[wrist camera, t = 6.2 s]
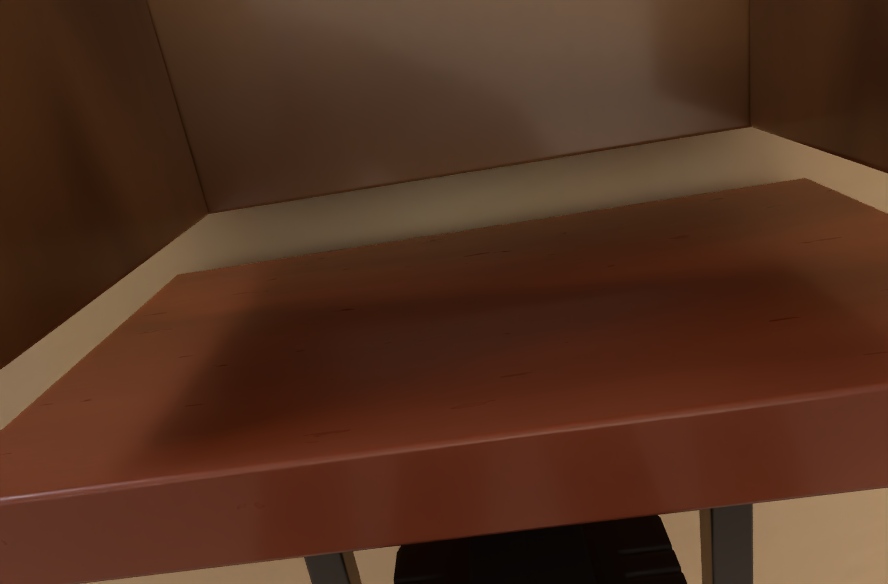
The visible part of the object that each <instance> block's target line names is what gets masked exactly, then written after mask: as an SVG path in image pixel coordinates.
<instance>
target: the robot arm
mask: <svg viewBox="0 0 888 584" xmlns="http://www.w3.org/2000/svg"><path fill="white" fill-rule="evenodd" d="M394 584H687V582H686V579H685V577H684V574H683V573H682V572H681V567H680V564H679V562H678V560H677V557H676V555H675V552H674V550H672V545H671V542H670V540H669V537H668V535H667V533H666V530H665V528H664V525H663V523H662V520H661V518H660V517H659V516H658V515H652V516H644V517H635V518H627V519H618V520H610V521H602V522H593V523H585V524H576V525H568V526H560V527H551V528H543V529H534V530H526V531H518V532H509V533H501V534H492V535H484V536H475V537H467V538H459V539H450V540H442V541H433V542H425V543H417V544H408V545H401V547H400V548H399V550H398V552H397V556H396V565H395V573H394Z"/></svg>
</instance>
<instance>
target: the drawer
mask: <svg viewBox="0 0 888 584" xmlns="http://www.w3.org/2000/svg"><path fill="white" fill-rule="evenodd" d="M747 127H754V128H757V129H760V130H763V131H766V132H769V133H771V134H774V135H777V136H780V137H783V138H786V139H789V140H792V141H795V142H798V143H801V144H804V145H807V146H809V147H812V148H815V149H818V150H821V151H824V152H827V153H830V154H833V155H836V156H839V157H842V158H845V159H847V160H850V161H853V162H856V163H859V164H862V165H865V166H868V167H871V168H874V169H877V170H880V171H883V172H886V173H888V0H0V369H2V368H3V367H5V366H6V365H7V364H9V363H10V362H11V361H13V360H14V359H15V358H17V357H18V356H19V355H21V354H22V353H23V352H25V351H26V350H27V349H29V348H30V347H31V346H33V345H34V344H35V343H37V342H38V341H39V340H41V339H42V338H44V337H45V336H46V335H48V334H49V333H50V332H52V331H53V330H54V329H56V328H57V327H58V326H60V325H61V324H62V323H64V322H65V321H66V320H68V319H69V318H70V317H72V316H73V315H74V314H76V313H77V312H78V311H80V310H81V309H82V308H84V307H85V306H86V305H88V304H89V303H90V302H92V301H93V300H94V299H96V298H97V297H98V296H100V295H101V294H102V293H104V292H105V291H106V290H108V289H109V288H110V287H112V286H113V285H114V284H116V283H117V282H118V281H120V280H121V279H122V278H124V277H125V276H126V275H128V274H129V273H130V272H132V271H133V270H134V269H136V268H137V267H138V266H140V265H141V264H142V263H144V262H145V261H146V260H148V259H149V258H150V257H152V256H153V255H154V254H156V253H157V252H158V251H160V250H161V249H162V248H164V247H165V246H166V245H168V244H169V243H170V242H172V241H173V240H174V239H176V238H177V237H178V236H180V235H181V234H182V233H184V232H185V231H187V230H188V229H189V228H191V227H192V226H193V225H195V224H196V223H197V222H199V221H200V220H201V219H203V218H204V217H205V216H207V215H208V214H212V213H219V212H225V211H231V210H237V209H243V208H250V207H256V206H262V205H268V204H275V203H281V202H287V201H293V200H299V199H306V198H312V197H318V196H324V195H331V194H337V193H343V192H349V191H355V190H362V189H368V188H374V187H380V186H387V185H393V184H399V183H405V182H411V181H418V180H424V179H430V178H436V177H443V176H449V175H455V174H461V173H467V172H474V171H480V170H486V169H492V168H498V167H505V166H511V165H517V164H523V163H530V162H536V161H542V160H548V159H554V158H561V157H567V156H573V155H579V154H586V153H592V152H598V151H604V150H610V149H617V148H623V147H629V146H635V145H642V144H648V143H654V142H660V141H666V140H673V139H679V138H685V137H691V136H698V135H704V134H710V133H716V132H722V131H729V130H735V129H741V128H747ZM879 488H888V214H887V213H885V212H883V211H880V210H878V209H876V208H874V207H871V206H869V205H867V204H864V203H862V202H860V201H858V200H855V199H853V198H851V197H848V196H846V195H844V194H841V193H839V192H837V191H835V190H832V189H830V188H828V187H825V186H823V185H821V184H819V183H816V182H814V181H812V180H809V179H806V178H802V179H796V180H789V181H783V182H776V183H770V184H763V185H757V186H750V187H744V188H737V189H731V190H724V191H718V192H712V193H705V194H699V195H692V196H686V197H679V198H673V199H666V200H660V201H653V202H647V203H640V204H634V205H627V206H621V207H614V208H608V209H601V210H595V211H588V212H582V213H575V214H569V215H562V216H556V217H549V218H543V219H536V220H530V221H523V222H517V223H510V224H504V225H497V226H491V227H484V228H478V229H471V230H465V231H458V232H452V233H445V234H439V235H432V236H426V237H420V238H413V239H407V240H400V241H394V242H387V243H381V244H374V245H368V246H361V247H355V248H348V249H342V250H335V251H329V252H322V253H316V254H309V255H303V256H296V257H290V258H283V259H277V260H270V261H264V262H257V263H251V264H244V265H238V266H231V267H225V268H218V269H212V270H205V271H199V272H192V273H186V274H179V275H177V276H176V277H174V278H173V279H172V280H171V281H170V282H169V283H168V284H167V285H165V286H164V287H163V288H162V289H161V290H160V291H159V292H157V293H156V294H155V295H154V296H153V297H152V298H151V299H150V300H148V301H147V302H146V303H145V304H144V305H143V306H142V307H140V308H139V309H138V310H137V311H136V312H135V313H134V314H133V315H131V316H130V317H129V318H128V319H127V320H126V321H125V322H123V323H122V324H121V325H120V326H119V327H118V328H117V329H115V330H114V331H113V332H112V333H111V334H110V335H109V336H108V337H106V338H105V339H104V340H103V341H102V342H101V343H100V344H98V345H97V346H96V347H95V348H94V349H93V350H92V351H91V352H89V353H88V354H87V355H86V356H85V357H84V358H83V359H81V360H80V361H79V362H78V363H77V364H76V365H75V366H74V367H72V368H71V369H70V370H69V371H68V372H67V373H66V374H64V375H63V376H62V377H61V378H60V379H59V380H58V381H57V382H55V383H54V384H53V385H52V386H51V387H50V388H49V389H47V390H46V391H45V392H44V393H43V394H42V395H41V396H40V397H38V398H37V399H36V400H35V401H34V402H33V403H32V404H30V405H29V406H28V407H27V408H26V409H25V410H24V411H23V412H21V413H20V414H19V415H18V416H17V417H16V418H15V419H13V420H12V421H11V422H10V423H9V424H8V425H7V426H5V427H4V428H3V429H2V430H1V431H0V584H80V583H89V582H97V581H105V580H114V579H122V578H131V577H139V576H147V575H156V574H164V573H173V572H181V571H190V570H198V569H206V568H215V567H223V566H232V565H240V564H248V563H257V562H265V561H274V560H282V559H290V558H299V557H304V559H305V562H306V565H307V569H308V572H309V575H310V579H311V582H312V584H362V583H361V579H360V575H359V572H358V568H357V564H356V560H355V557H354V553H353V551H358V550H366V549H375V548H383V547H391V546H400V545H408V544H417V543H425V542H433V541H442V540H450V539H459V538H467V537H475V536H484V535H492V534H501V533H509V532H518V531H526V530H534V529H543V528H551V527H560V526H568V525H576V524H585V523H593V522H602V521H610V520H618V519H627V518H635V517H644V516H652V515H660V514H669V513H677V512H686V511H694V510H699V513H700V538H701V563H702V584H753V503H761V502H770V501H778V500H787V499H795V498H803V497H812V496H820V495H829V494H837V493H846V492H854V491H862V490H871V489H879Z"/></svg>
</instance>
